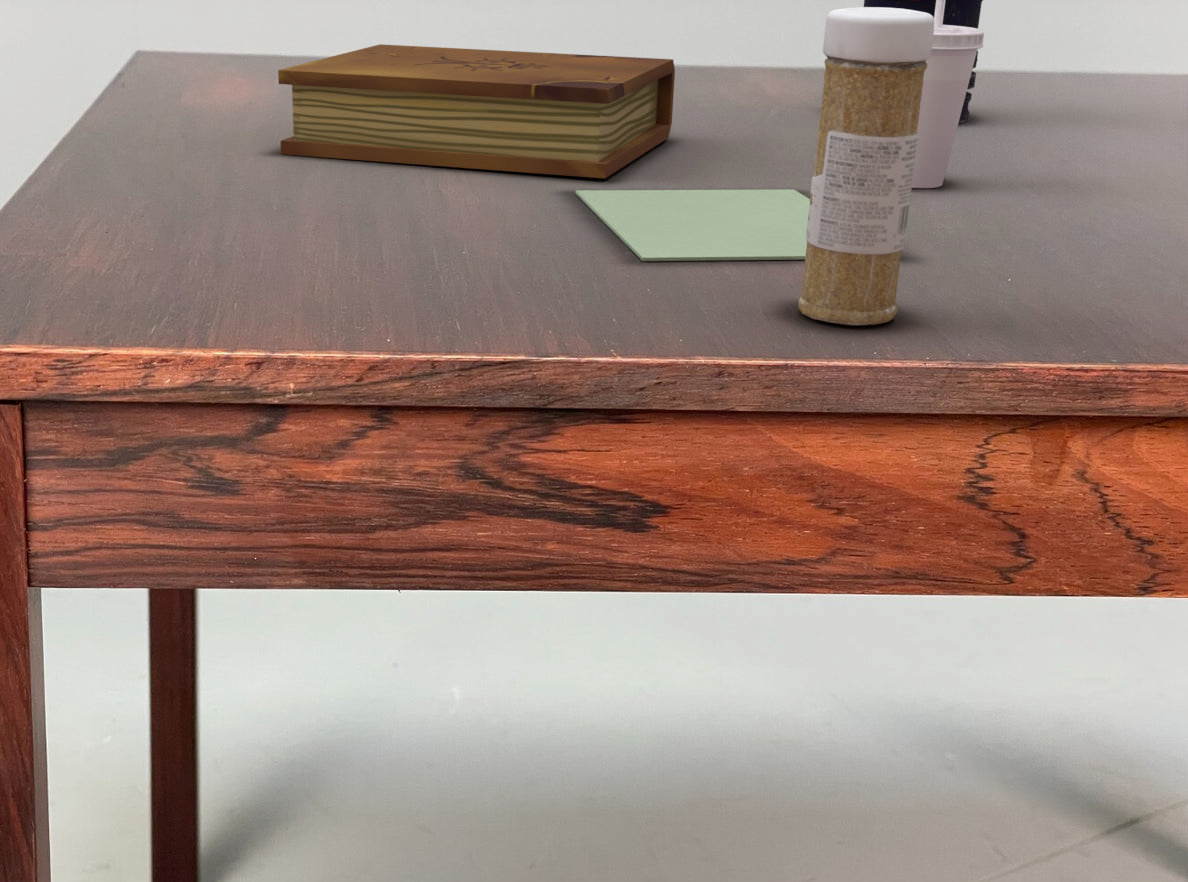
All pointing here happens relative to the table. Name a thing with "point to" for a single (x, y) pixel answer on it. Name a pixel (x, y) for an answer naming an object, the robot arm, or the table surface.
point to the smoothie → (943, 97)
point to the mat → (705, 223)
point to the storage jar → (957, 12)
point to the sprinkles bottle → (864, 162)
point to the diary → (481, 108)
